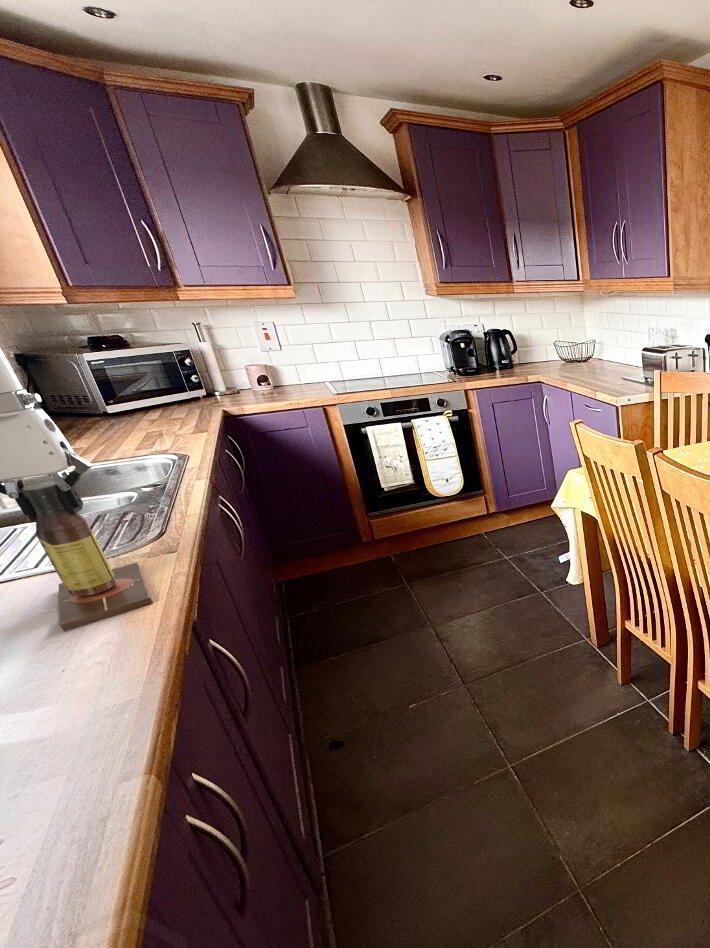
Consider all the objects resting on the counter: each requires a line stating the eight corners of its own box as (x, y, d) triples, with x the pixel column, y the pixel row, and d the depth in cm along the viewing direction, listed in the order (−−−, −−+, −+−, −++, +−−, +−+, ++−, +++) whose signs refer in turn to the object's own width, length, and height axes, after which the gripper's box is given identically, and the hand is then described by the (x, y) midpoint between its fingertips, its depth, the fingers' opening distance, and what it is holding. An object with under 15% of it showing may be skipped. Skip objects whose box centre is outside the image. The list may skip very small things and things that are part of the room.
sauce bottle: (84, 585, 105) (30, 480, 97) (126, 579, 107) (78, 476, 99) (59, 602, 100) (1, 492, 92) (105, 596, 101) (51, 488, 93)
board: (61, 589, 108) (58, 583, 107) (140, 567, 115) (137, 561, 114) (63, 631, 94) (59, 624, 93) (152, 603, 101) (149, 597, 100)
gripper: (77, 394, 96) (130, 497, 104) (-68, 409, 89) (0, 518, 97) (56, 401, 90) (114, 510, 98) (-101, 418, 83) (-25, 534, 91)
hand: (57, 513), depth 97 cm, fingers closed on sauce bottle, 4 cm apart
